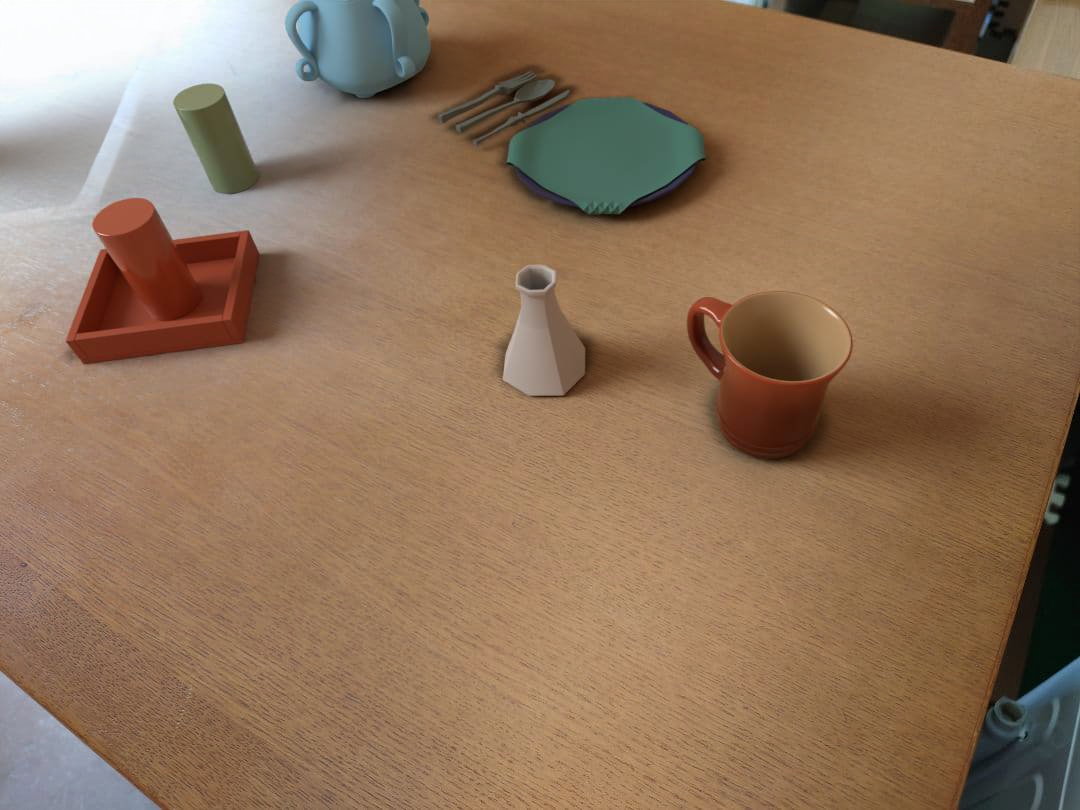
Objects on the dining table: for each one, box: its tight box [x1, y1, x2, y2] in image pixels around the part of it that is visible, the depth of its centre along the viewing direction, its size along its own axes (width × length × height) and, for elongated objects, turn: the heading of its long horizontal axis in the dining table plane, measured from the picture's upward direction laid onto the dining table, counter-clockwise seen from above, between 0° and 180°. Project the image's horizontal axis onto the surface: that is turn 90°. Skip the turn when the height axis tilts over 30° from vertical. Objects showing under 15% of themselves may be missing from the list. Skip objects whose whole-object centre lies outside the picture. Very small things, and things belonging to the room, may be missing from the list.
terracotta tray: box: [65, 229, 260, 365], centre depth 73 cm, size 15×13×3 cm
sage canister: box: [172, 82, 259, 195], centre depth 83 cm, size 5×5×10 cm
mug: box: [686, 290, 854, 460], centre depth 57 cm, size 12×9×10 cm
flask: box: [502, 264, 586, 397], centre depth 62 cm, size 7×7×10 cm
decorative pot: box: [284, 0, 432, 99], centre depth 95 cm, size 16×16×14 cm
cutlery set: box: [437, 70, 707, 216], centre depth 85 cm, size 20×30×2 cm, turn 41°
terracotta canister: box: [92, 197, 202, 321], centre depth 70 cm, size 5×5×10 cm
